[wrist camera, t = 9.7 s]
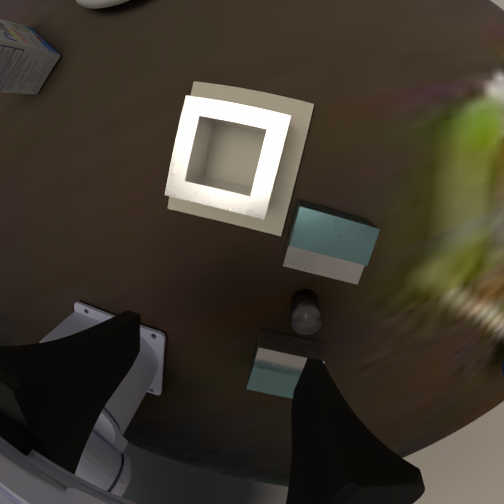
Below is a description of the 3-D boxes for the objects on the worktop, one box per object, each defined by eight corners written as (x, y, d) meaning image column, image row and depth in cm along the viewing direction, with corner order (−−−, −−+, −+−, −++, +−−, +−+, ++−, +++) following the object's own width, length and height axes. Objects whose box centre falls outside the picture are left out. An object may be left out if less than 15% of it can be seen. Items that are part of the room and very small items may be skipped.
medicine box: (63, 56, 18) (-7, 37, 9) (37, 96, 19) (-34, 92, 11) (32, 27, 16) (-27, 11, 8) (9, 63, 18) (-51, 56, 10)
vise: (250, 365, 24) (246, 388, 21) (297, 199, 20) (300, 206, 17) (306, 377, 24) (308, 401, 21) (367, 218, 20) (379, 229, 17)
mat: (170, 207, 21) (167, 208, 20) (196, 83, 18) (194, 81, 17) (280, 234, 21) (280, 236, 20) (313, 105, 18) (314, 104, 17)
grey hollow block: (187, 187, 20) (164, 195, 16) (205, 106, 18) (186, 95, 14) (268, 207, 20) (264, 219, 16) (289, 124, 18) (291, 115, 14)
